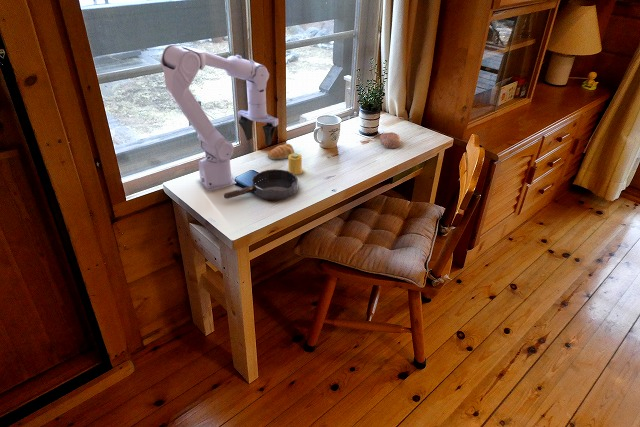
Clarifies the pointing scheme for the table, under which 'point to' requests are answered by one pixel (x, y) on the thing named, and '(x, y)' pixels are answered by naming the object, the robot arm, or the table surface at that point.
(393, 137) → the pinkish-brown rounded lump
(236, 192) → the skillet handle
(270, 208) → the table surface
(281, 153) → the pastry
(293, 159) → the yellow cylinder
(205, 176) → the robot arm
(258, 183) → the skillet
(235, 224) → the table surface
